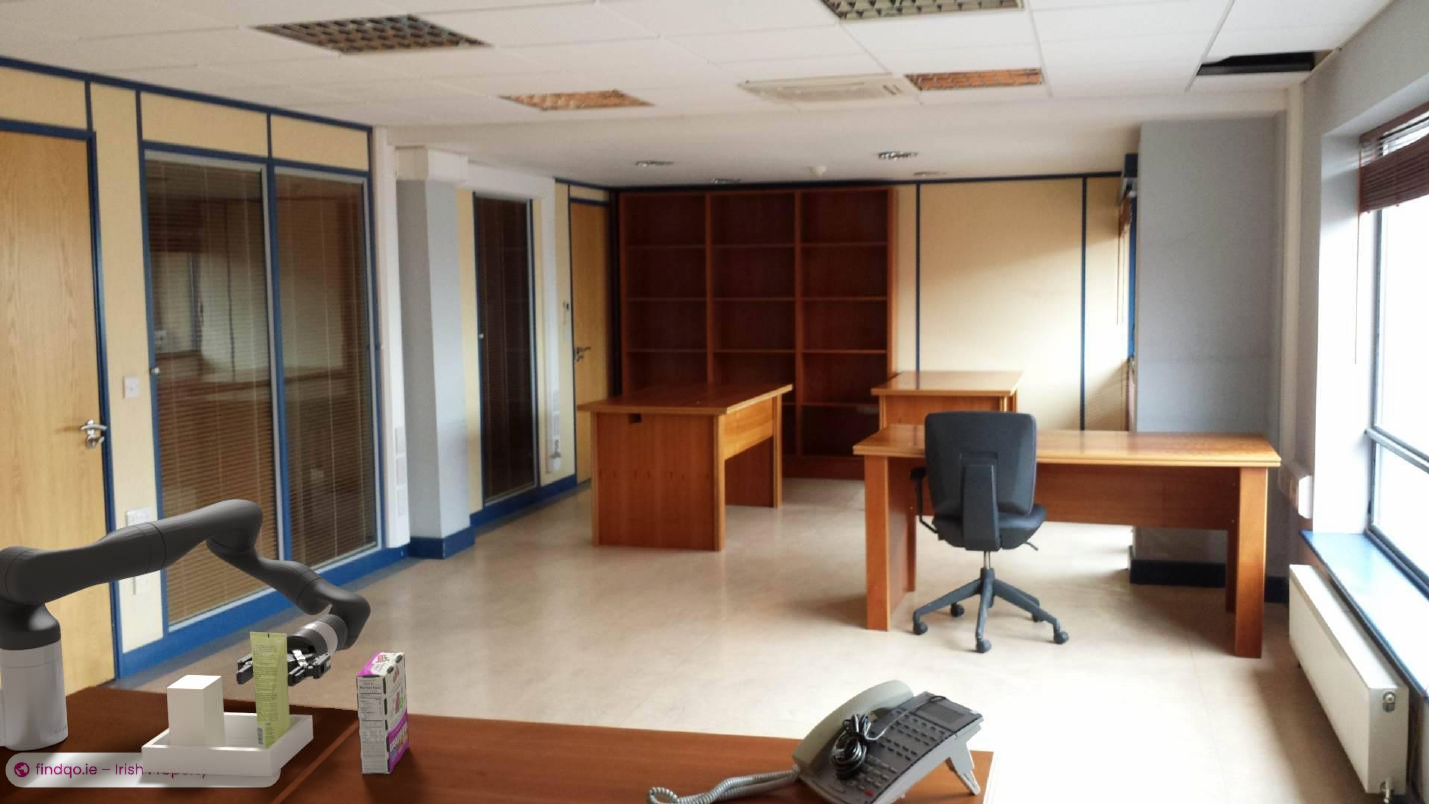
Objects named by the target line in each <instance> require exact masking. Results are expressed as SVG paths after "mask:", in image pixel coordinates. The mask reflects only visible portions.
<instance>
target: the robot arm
mask: <svg viewBox="0 0 1429 804" xmlns="http://www.w3.org/2000/svg"><path fill="white" fill-rule="evenodd" d="M263 522H264V512H263V509H262V507H260V506H259V504H257V503H255V502H254V501H251V500H247V499H239V498H238V499H237V498H236V499H234V498H233V499H227V500H222V501H219V502H216V503H213V504H210V505H207V506H203V507H200V508H198V509H195V510H193V511H189V512H186V513H182V514H179V515H173V516H170V517H167V518H162V519H158V520H152V521H146V522H140V523H136V524H132V525H129V526H128V525H127V526H124V527H120V528H118V529H115V530H112V531H110V532H108V533H107V534H105V535H104V536H102V537H101V538H100V539H98V540H96V541H94V542H92V543H90V544H89V543H88V544H86V545H82V546H75V547H70V548H63V549H53V550H52V549H42V548H41V549H40V548H35V547H28V546H24V545H23V546H22V545H15V546H14V545H13V546H8V547H5V548H3V549H1V550H0V747H5V748H7V749H8V750H11V751H12V750H13V751H29V750H30V751H31V750H32V751H33V750H38V749H43V748H48V747H49V746H53V745H56V744H58V743H60V742H63V741H64V740H65V739H66V738H67V737H68V735H69V732H68V718H67V717H68V716H67V704H66V703H67V700H66V689H65V688H66V686H65V685H66V684H65V673H64V671H65V669H64V659H63V658H64V657H63V646H62V631H61V624H60V622H59V621H58V619H57V618H56V617H54V615H53V614H51V612H50V611H49V610H48V608H47V606H46V604H48V603H51V602H54V601H56V600H58V599H61V598H65V597H66V596H69V595H72V594H75V593H77V592H80V591H83V590H85V589H88V588H91V587H94V586H98V585H102V584H104V585H105V584H108V583H113V582H119V581H122V580H126V579H130V578H136V577H141V576H144V575H148V574H151V573H155V572H159V571H162V570H164V569H166V568H169V567H170V566H172V565H173V564H175V563H176V562H177V561H179V560H181V559H182V558H183V557H184V556H186V555H187V554H188V553H189V552H191V551H192V550H193V549H194V548H196V547H197V546H198V545H200V544H201V543H203V542H205V545H206V547H207V549H208V550H209V551H210V553H212V554H213V555H215V556H216V557H217V558H218V559H220V560H222V561H223V562H225V563H227V564H228V565H230V566H232V567H234V568H236V569H238V570H240V571H241V572H243V573H245V574H246V575H248V576H251V577H252V578H255V579H256V580H258V581H259V582H262V583H263V584H266V585H267V586H269V587H270V588H272V589H274V590H276V592H279V594H281V595H282V596H283V597H285V599H287V600H288V601H289V602H291V604H293V605H295V606H296V608H298V609H300V610H301V611H302V612H303V613H304V614H307V615H308V616H316V615H319V614H320V613H322V612H323V611H325V610H326V608H328V607H329V606H330V605H331V607H330V609H329V612H328V613H327V614H323V615H320V616H318V617H317V618H315V619H313V620H312V621H311V622H309V623H307V624H304V625H303V626H300V627H299V628H297V629H296V630H294V631H293V632H292V633H290V634H288V635H287V670H288V687H293V688H294V687H295V686H296V685H298V684H300V683H301V682H303V681H307V680H309V678H310V677H312V679H313V680H318V679H321V678H322V677H323V676H324V675H325V674H326V673H327V672H328V671H330V670H331V668H332V667H331V666H332V664H331V662H332V660H331V657H332V656H333V654H335V653H337V652H340V651H347V650H349V649H351V647H353V646H354V644H355V643H356V641H358V639H359V636H360V634H361V633H362V631H363V629H364V627H365V624H366V623H367V621H368V619H369V617H371V616H370V615H371V612H372V611H371V610H372V609H371V605H370V603H369V601H368V600H367V599H366V598H365V597H364V596H362V595H360V594H358V593H356V592H352V591H350V590H346V589H345V588H342V587H339V586H338V585H337V586H336V585H335V584H333V583H331V582H329V581H327V580H326V579H325V578H324V577H322V576H321V575H319V574H318V573H317V572H316V571H315V570H313V569H312V568H311V567H309V566H308V565H306V564H304V563H302V562H298V561H293V560H282V559H281V560H278V559H276V560H275V559H270V558H267V557H265V556H264V555H262V554H261V553H260V552H259V551H258V550H257V549H256V548H255V546H256V542H257V541H258V537H259V534H260V531H261V529H262V526H263ZM236 664H237V671H236V673H235V676H236V677H235V678H236V682H237V685H240V686H241V685H245V684H246V683H248V682H249V681H250V680H251V679H252V680H253V679H254V674H253V662H252V652H250V653H249V654H247V655H245V656H244V657H242V658H240V659H238V660H237V661H236Z"/></svg>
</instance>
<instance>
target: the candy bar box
mask: <svg viewBox="0 0 1429 804" xmlns="http://www.w3.org/2000/svg"><path fill="white" fill-rule="evenodd" d="M405 656H406V655H405V652H404V651H403V652H402V651H401V652H399V651H398V652H396V651H395V652H394V651H390V652H389V651H387V652H385V651H379V652H376V653H375V654H374V655H373V656H372V658H371V659H370V660H369V661H368V662H367V663H366V664H365V666H364V667H362V668H361V670H360V671H358V673H357V674H356V675H355V682H356V698H357V699H356V701H357V703H356V704H357V716H358V732H359V733H358V735H359V753H360V755H359V757H360V770H361V771H360V772H361V774H362V775H390V774H391V773H392V772H393V770H395V768H396V765H398V762H399V761H400V760H401V758H402V757H403V755H404V754H405V752H406V751H407V750H408V748H409V747H410V739H409V736H410V735H409V721H408V720H409V718H408V699H407V683H406V682H407V681H406V679H407V678H406V657H405Z"/></svg>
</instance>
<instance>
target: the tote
mask: <svg viewBox="0 0 1429 804" xmlns="http://www.w3.org/2000/svg"><path fill="white" fill-rule="evenodd" d="M289 715H290V730H288V731H287V732H286V733H285V734H284V735H283V736H281V737H280V738H279V739H278V740H277V741H276V742H274V743H273V744H272V745H271V746H270V747H269V748H267V749H260V748H259V744H258V729H257V714H256V712H255V713H252V712H250V713H249V712H227V711H224V727H225V747H202V746H174V745H170V736H169V727H168V728H166V729H165V730H164V731H162V732H161V733H160V734H158V735H157V736H155V737H154V738H152V739H151V740H150V741H148V742H147V743H145V744H144V745H142V746H141V758H142V759H141V760H142V761H141V762H142V772H143V773H165V774H169V773H170V774H188V775H189V774H190V775H191V774H192V775H193V774H195V775H219V776H221V775H222V776H243V777H245V776H247V777H248V776H249V777H273V776H275V774H276V773H278V771H279V770H281V769H282V768H283V767H284V766H285V765H286V764H287V763H288V762H289V761H290V760H291V759H292V758H294V757H295V756H296V755H297V754H298V753H299V752H300V751H301V750H302V749H304V747H306V745H308V744H309V743H310V742H312V741H313V740H314V729H313V727H314V725H313V724H314V723H313V715H312V714H310V715H309V714H290V713H289Z"/></svg>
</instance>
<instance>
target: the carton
mask: <svg viewBox="0 0 1429 804" xmlns="http://www.w3.org/2000/svg"><path fill="white" fill-rule="evenodd" d="M223 693H224V692H223V676H222V675H199V674H198V675H197V674H187V675H186V674H185V676H183V677H181V678H180V679H179V680H177V681H174V683H172V684H170V685H168V686H167V687H166V696H167V697H166V698H167V700H166V701H167V716H168V717H167V718H168V728H169V736H170V745H174V746H202V747H225V727H224V712H225V711H224V696H223V695H224V694H223Z"/></svg>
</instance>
